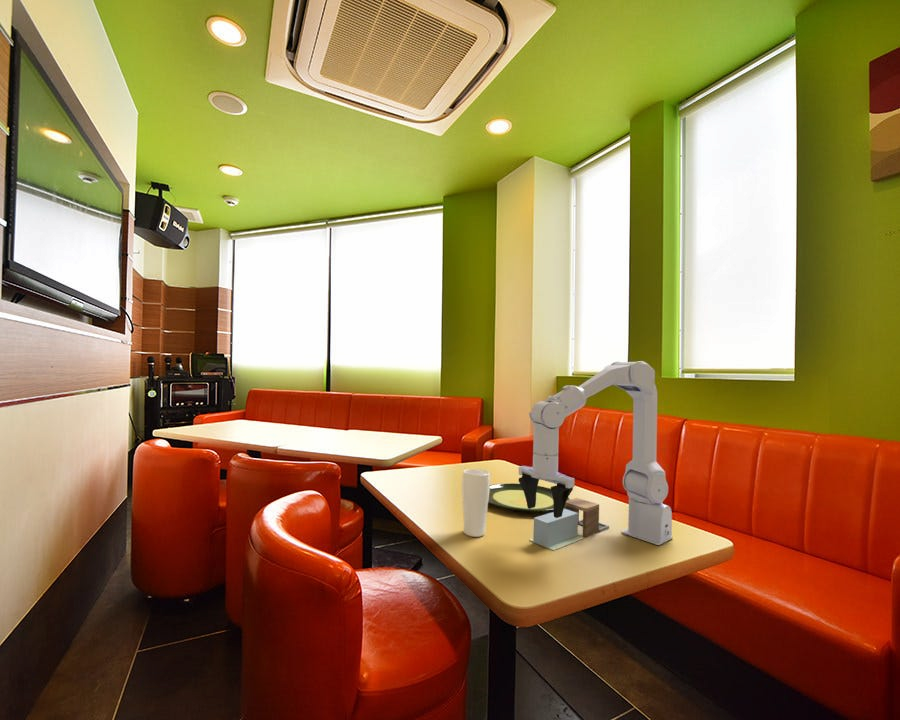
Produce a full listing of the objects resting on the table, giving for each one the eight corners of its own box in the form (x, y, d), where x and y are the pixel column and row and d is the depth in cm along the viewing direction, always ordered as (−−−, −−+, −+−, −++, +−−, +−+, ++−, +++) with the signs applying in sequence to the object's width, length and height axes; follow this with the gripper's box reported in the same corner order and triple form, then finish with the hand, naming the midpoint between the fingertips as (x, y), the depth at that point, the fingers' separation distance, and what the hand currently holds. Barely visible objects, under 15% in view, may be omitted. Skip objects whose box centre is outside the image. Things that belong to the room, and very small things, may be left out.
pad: (583, 538, 101) (583, 537, 101) (553, 550, 93) (553, 549, 93) (559, 529, 106) (559, 528, 106) (529, 540, 99) (529, 539, 99)
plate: (576, 523, 112) (576, 513, 112) (473, 513, 117) (474, 504, 117) (564, 494, 140) (564, 486, 140) (481, 487, 145) (482, 480, 145)
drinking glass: (465, 540, 98) (467, 475, 98) (457, 529, 104) (459, 468, 105) (492, 538, 99) (494, 474, 100) (482, 527, 106) (484, 468, 106)
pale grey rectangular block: (577, 535, 102) (578, 513, 102) (547, 547, 94) (547, 522, 94) (563, 530, 105) (564, 508, 105) (533, 541, 97) (533, 517, 97)
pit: (609, 528, 109) (609, 525, 109) (600, 531, 106) (600, 529, 106) (585, 520, 114) (585, 518, 114) (576, 523, 111) (576, 521, 111)
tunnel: (598, 532, 106) (599, 504, 106) (585, 537, 102) (586, 508, 102) (575, 524, 111) (576, 497, 111) (562, 529, 107) (563, 501, 107)
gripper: (510, 449, 100) (509, 506, 100) (561, 460, 89) (560, 525, 89) (529, 447, 105) (528, 501, 104) (580, 457, 93) (579, 518, 93)
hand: (544, 512), depth 97 cm, fingers open, 7 cm apart
